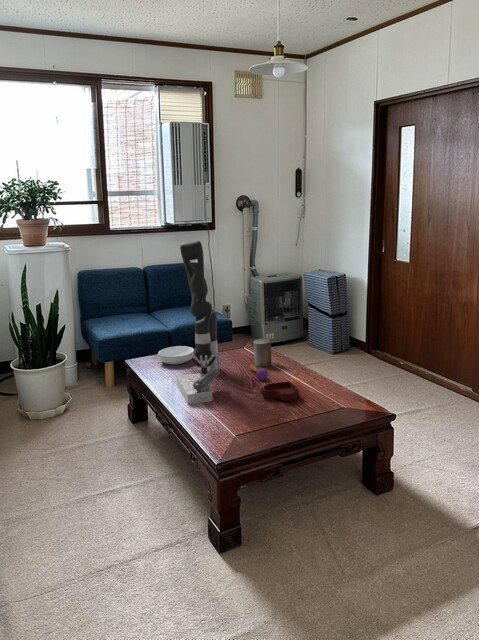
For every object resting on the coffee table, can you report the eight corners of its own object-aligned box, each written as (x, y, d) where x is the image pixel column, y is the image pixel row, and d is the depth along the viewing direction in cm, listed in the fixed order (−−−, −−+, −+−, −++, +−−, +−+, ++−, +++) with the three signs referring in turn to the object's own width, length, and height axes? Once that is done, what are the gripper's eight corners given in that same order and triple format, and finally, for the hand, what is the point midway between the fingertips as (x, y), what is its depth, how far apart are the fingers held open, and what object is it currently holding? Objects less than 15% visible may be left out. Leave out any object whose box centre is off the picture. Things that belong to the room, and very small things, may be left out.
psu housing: (199, 382, 293) (198, 369, 291) (212, 400, 267) (211, 387, 265) (177, 385, 290) (176, 373, 288) (188, 404, 264) (187, 391, 262)
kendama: (258, 362, 308) (270, 370, 290) (256, 372, 309) (268, 381, 290) (247, 361, 307) (259, 369, 288) (246, 372, 307) (257, 381, 288)
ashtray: (306, 393, 271) (306, 383, 270) (291, 405, 258) (291, 395, 257) (273, 388, 280) (273, 378, 279) (258, 399, 267) (257, 389, 266)
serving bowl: (184, 354, 342) (184, 343, 340) (200, 362, 324) (200, 351, 323) (153, 361, 331) (152, 350, 330) (168, 370, 314) (167, 358, 312)
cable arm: (219, 374, 283) (219, 368, 282) (201, 389, 262) (200, 383, 261) (210, 373, 284) (210, 367, 284) (191, 388, 264) (191, 382, 263)
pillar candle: (274, 362, 318) (273, 337, 315) (266, 367, 310) (265, 341, 307) (260, 360, 323) (258, 335, 320) (251, 365, 315) (250, 340, 312)
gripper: (215, 338, 281) (217, 370, 286) (189, 339, 280) (191, 372, 285) (216, 342, 274) (217, 375, 279) (189, 344, 273) (191, 377, 278)
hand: (204, 374), depth 282 cm, fingers closed
